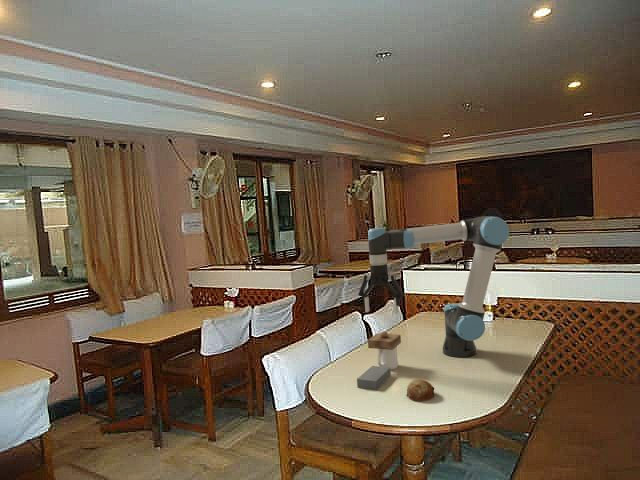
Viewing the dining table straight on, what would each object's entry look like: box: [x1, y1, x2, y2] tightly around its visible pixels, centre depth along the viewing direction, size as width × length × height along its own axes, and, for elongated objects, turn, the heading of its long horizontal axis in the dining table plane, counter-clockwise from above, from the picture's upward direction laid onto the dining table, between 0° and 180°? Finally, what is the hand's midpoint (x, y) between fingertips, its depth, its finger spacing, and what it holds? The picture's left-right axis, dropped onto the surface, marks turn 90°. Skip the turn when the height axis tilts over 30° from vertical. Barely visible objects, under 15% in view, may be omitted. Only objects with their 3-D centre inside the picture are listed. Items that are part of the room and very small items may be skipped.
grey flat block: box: [356, 365, 392, 391], centre depth 192 cm, size 8×16×4 cm, turn 151°
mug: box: [376, 346, 399, 371], centre depth 206 cm, size 12×8×10 cm
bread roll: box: [405, 378, 435, 402], centre depth 175 cm, size 10×10×8 cm
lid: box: [367, 331, 402, 350], centre depth 206 cm, size 11×11×6 cm
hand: (381, 312), depth 206 cm, fingers open, 13 cm apart
